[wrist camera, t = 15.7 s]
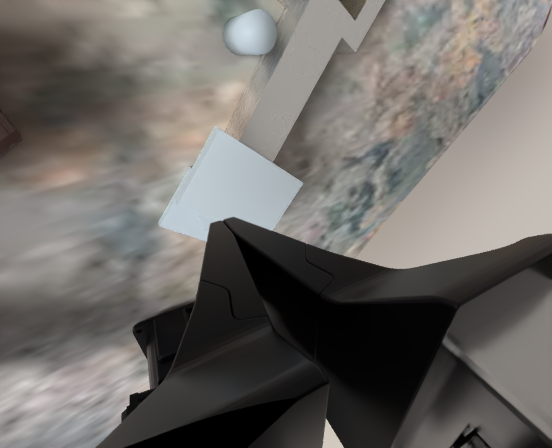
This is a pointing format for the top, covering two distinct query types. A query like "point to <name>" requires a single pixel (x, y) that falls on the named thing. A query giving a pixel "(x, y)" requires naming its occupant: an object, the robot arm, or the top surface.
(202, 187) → the pair of pale-grey parts
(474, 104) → the top surface
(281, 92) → the link
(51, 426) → the top surface
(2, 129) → the box
